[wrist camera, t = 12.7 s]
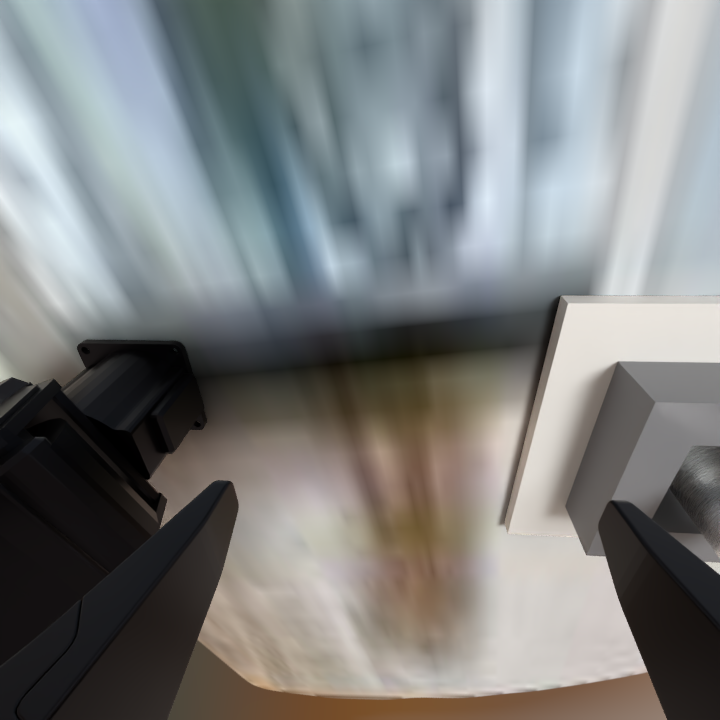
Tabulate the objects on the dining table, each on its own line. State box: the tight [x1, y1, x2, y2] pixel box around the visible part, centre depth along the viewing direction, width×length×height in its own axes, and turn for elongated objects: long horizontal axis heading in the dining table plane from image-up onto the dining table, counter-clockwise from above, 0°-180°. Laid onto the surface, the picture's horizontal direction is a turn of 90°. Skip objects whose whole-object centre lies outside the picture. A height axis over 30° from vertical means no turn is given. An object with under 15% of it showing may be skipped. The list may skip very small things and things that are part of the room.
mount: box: [505, 296, 720, 562], centre depth 22 cm, size 18×18×4 cm
